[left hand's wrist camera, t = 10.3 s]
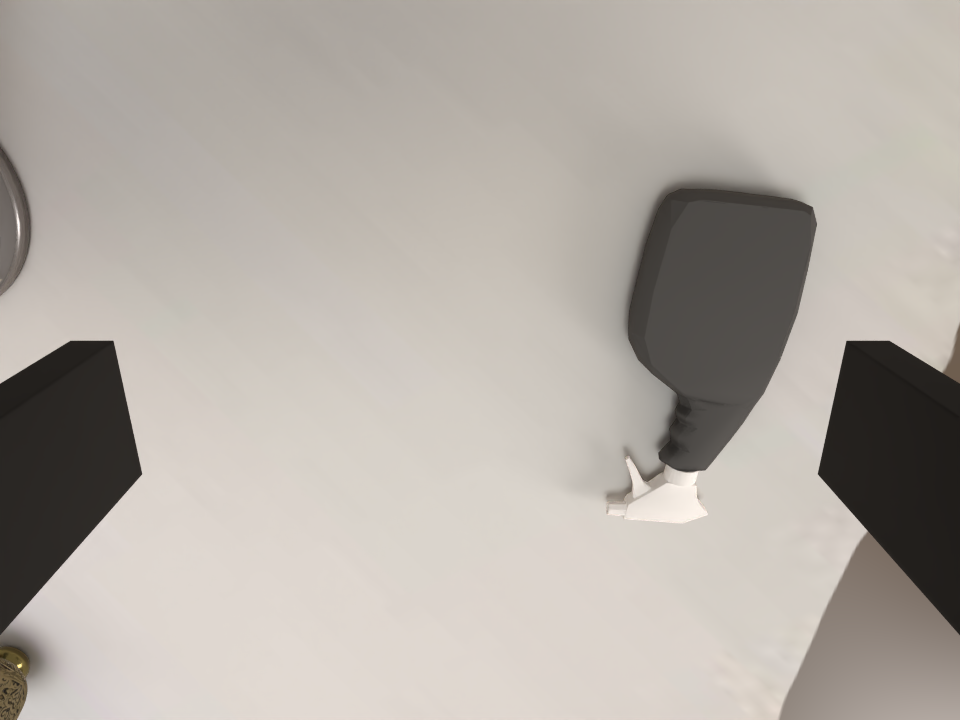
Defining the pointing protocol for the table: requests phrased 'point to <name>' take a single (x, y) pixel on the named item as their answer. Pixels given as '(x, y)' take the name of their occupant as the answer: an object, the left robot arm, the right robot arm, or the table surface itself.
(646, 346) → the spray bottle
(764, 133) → the table surface
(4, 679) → the cup
